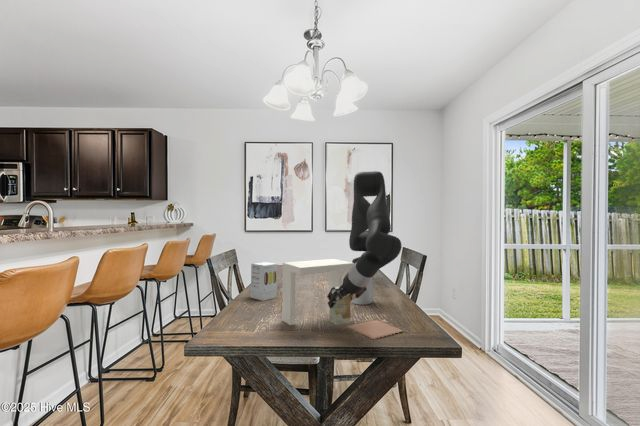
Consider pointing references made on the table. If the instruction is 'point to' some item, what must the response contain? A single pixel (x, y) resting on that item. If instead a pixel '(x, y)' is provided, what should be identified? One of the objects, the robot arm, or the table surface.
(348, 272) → the robot arm
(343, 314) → the skincare box
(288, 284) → the white stool
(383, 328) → the terracotta tile
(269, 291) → the supplement box
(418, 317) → the table surface
